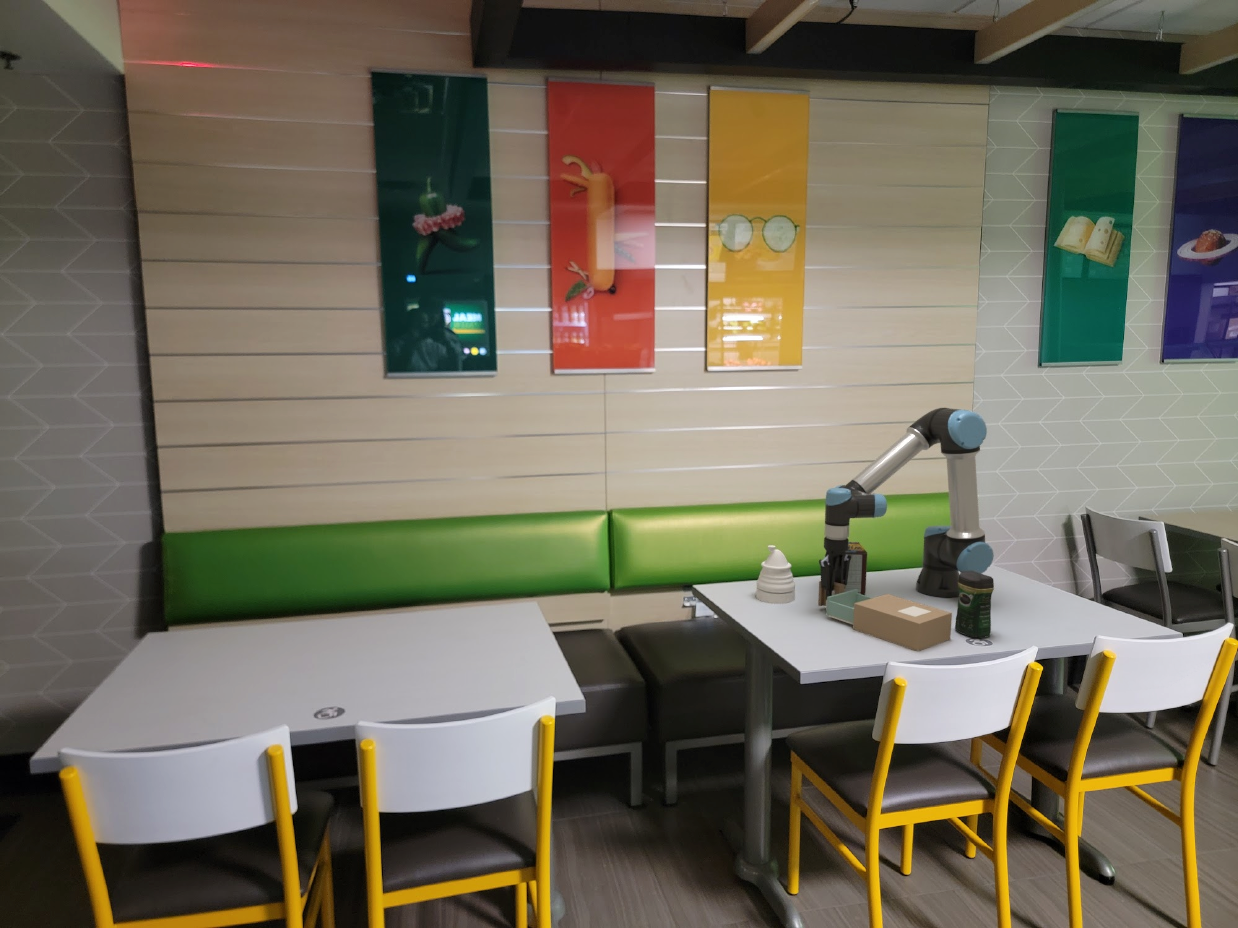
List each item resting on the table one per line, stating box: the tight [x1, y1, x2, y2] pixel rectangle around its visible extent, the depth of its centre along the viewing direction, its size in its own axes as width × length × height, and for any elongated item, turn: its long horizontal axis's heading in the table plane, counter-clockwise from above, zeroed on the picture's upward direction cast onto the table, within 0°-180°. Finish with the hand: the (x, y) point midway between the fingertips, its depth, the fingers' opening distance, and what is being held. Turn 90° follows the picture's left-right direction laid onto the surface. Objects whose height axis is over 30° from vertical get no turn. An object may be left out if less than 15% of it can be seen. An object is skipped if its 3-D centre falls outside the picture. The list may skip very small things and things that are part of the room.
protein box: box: [834, 541, 868, 596], centre depth 282 cm, size 10×15×16 cm
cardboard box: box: [852, 593, 953, 652], centre depth 238 cm, size 16×22×8 cm
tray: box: [817, 580, 873, 625], centre depth 250 cm, size 14×28×8 cm, turn 36°
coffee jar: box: [954, 570, 995, 639], centre depth 239 cm, size 10×8×19 cm
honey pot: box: [755, 544, 796, 605], centre depth 272 cm, size 13×13×18 cm
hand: (833, 608), depth 259 cm, fingers closed on tray, 2 cm apart
